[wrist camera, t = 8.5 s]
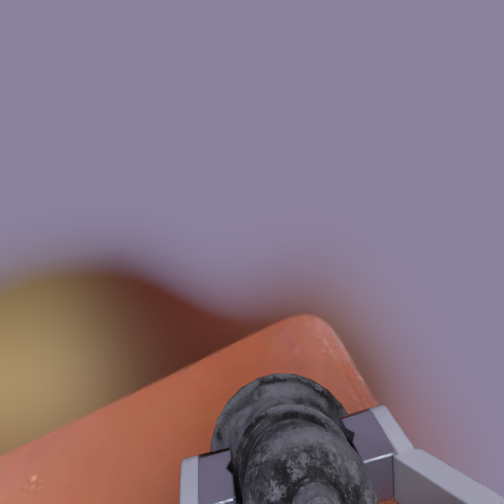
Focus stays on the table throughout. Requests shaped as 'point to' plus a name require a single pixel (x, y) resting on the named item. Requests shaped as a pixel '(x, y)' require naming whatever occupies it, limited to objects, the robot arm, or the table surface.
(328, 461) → the dark chess piece
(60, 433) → the table surface
